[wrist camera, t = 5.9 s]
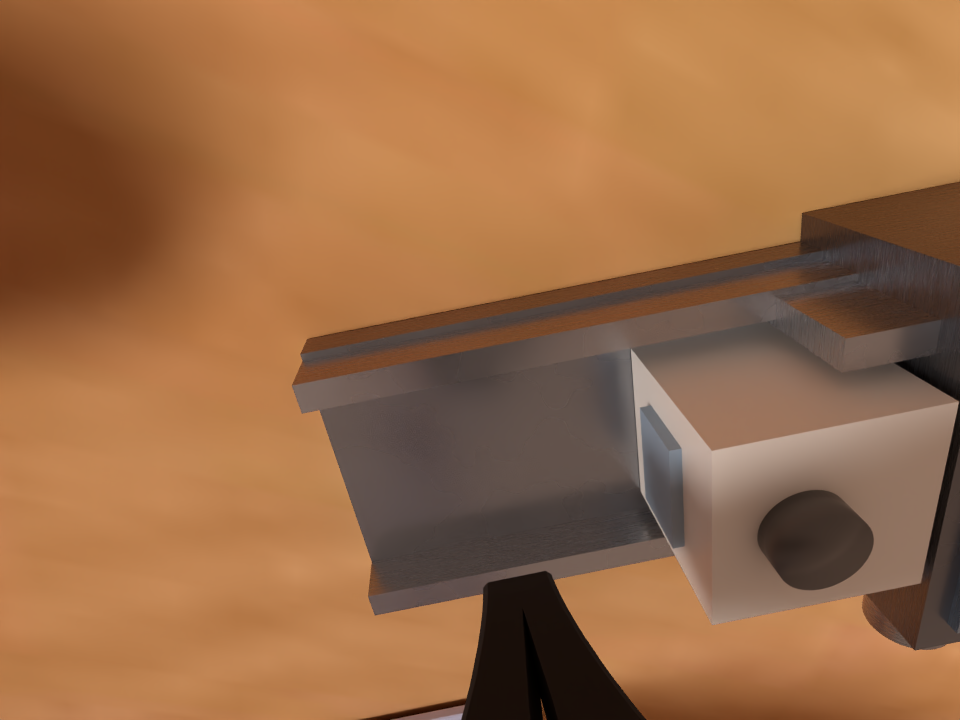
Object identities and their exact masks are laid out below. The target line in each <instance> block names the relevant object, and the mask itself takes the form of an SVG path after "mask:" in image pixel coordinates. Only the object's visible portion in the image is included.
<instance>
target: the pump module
mask: <svg viewBox="0 0 960 720" xmlns="http://www.w3.org/2000/svg"><path fill="white" fill-rule="evenodd" d="M631 359H632V373H633V387H634V402H635V416H636V430H637V445H638V459H639V474H640V488H641V493H642V495H643V497H644V499H645V500H646V502H647V504H648V506H649V508H650V510H651V512H652V514H653V515H654V517H655V519H656V521H657V523H658V525H659V527H660V528H661V530H662V532H663V534H664V536H665V538H666V540H667V542H668V543H669V545H670V547H671V549H672V551H673V553H674V555H675V557H676V558H677V560H678V562H679V564H680V566H681V568H682V570H683V571H684V573H685V575H686V577H687V579H688V581H689V583H690V585H691V586H692V588H693V590H694V592H695V594H696V596H697V598H698V599H699V601H700V603H701V605H702V607H703V609H704V611H705V613H706V614H707V616H708V618H709V620H710V622H711V624H712V625H715V624H720V623H725V622H730V621H735V620H740V619H745V618H750V617H755V616H760V615H765V614H770V613H775V612H780V611H785V610H790V609H795V608H800V607H805V606H810V605H815V604H820V603H825V602H830V601H835V600H840V599H845V598H850V597H855V596H860V595H865V594H870V593H875V592H880V591H885V590H890V589H895V588H900V587H905V586H910V585H915V584H920V583H921V579H922V575H923V570H924V565H925V560H926V556H927V551H928V546H929V542H930V537H931V532H932V527H933V523H934V518H935V513H936V508H937V504H938V499H939V494H940V490H941V485H942V480H943V475H944V471H945V466H946V461H947V456H948V452H949V447H950V442H951V438H952V433H953V428H954V423H955V419H956V414H957V409H958V404H959V401H957V400H955V399H954V398H952V397H950V396H949V395H947V394H945V393H944V392H942V391H940V390H939V389H937V388H935V387H933V386H932V385H930V384H928V383H927V382H925V381H923V380H922V379H920V378H918V377H917V376H915V375H913V374H911V373H910V372H908V371H906V370H905V369H903V368H901V367H900V366H898V365H896V364H895V363H890V364H885V365H879V366H874V367H869V368H864V369H859V370H854V371H849V372H844V373H841V372H840V371H839V370H837V369H836V368H834V367H833V366H831V365H830V364H828V363H827V362H825V361H824V360H823V359H821V358H820V357H818V356H817V355H815V354H814V353H812V352H811V351H809V350H808V349H807V348H805V347H804V346H802V345H801V344H799V343H798V342H796V341H795V340H793V339H792V338H791V337H789V336H788V335H786V334H785V333H783V332H782V331H780V330H779V329H777V328H776V327H774V326H773V325H772V324H770V323H769V322H767V321H766V322H761V323H756V324H751V325H746V326H741V327H736V328H731V329H726V330H721V331H716V332H710V333H705V334H700V335H695V336H690V337H685V338H680V339H675V340H670V341H665V342H660V343H655V344H650V345H645V346H640V347H635V348H631Z"/></svg>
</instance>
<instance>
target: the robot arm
mask: <svg viewBox="0 0 960 720" xmlns="http://www.w3.org/2000/svg"><path fill="white" fill-rule="evenodd" d="M541 700H542V704H543V707H544V711H545V715H546V718H547V720H646V719H645V718H644V716H643V715H642V714H641V713H640V712H639V710H638V709H637V708H636V707H635V705H634V704H633V703H632V702H631V700H630V699H629V698H628V697H627V695H626V694H625V693H624V691H623V690H622V689H621V687H620V686H619V685H618V684H617V682H616V681H615V680H614V678H613V677H612V676H611V674H610V673H609V671H608V670H607V669H606V667H605V666H604V665H603V663H602V662H601V660H600V659H599V657H598V656H597V654H596V653H595V651H594V650H593V648H592V647H591V645H590V644H589V642H588V641H587V640H586V638H585V637H584V635H583V633H582V632H581V630H580V629H579V627H578V625H577V624H576V622H575V620H574V619H573V617H572V615H571V614H570V612H569V610H568V608H567V607H566V605H565V603H564V601H563V599H562V597H561V595H560V593H559V591H558V589H557V587H556V584H555V582H554V580H553V577H552V574H550V573H549V572H547V571H542V572H537V573H532V574H527V575H522V576H517V577H512V578H507V579H502V580H497V581H492V582H488V583H487V584H486V585H485V586H484V587H483V611H482V621H481V629H480V635H479V642H478V648H477V653H476V658H475V663H474V668H473V674H472V679H471V683H470V687H469V691H468V695H467V699H466V703H465V705H461V706H456V707H451V708H446V709H441V710H436V711H431V712H426V713H422V714H417V715H412V716H407V717H402V718H397V719H392V720H543V715H542V706H541Z"/></svg>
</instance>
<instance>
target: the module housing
mask: <svg viewBox="0 0 960 720" xmlns="http://www.w3.org/2000/svg"><path fill="white" fill-rule="evenodd" d="M766 321H767V322H769V323H770V324H772V325H773V326H774V327H776V328H777V329H779V330H780V331H782V332H783V333H785V334H786V335H788V336H789V337H791V338H792V339H793V340H795V341H796V342H798V343H799V344H801V345H802V346H804V347H805V348H807V349H808V350H809V351H811V352H812V353H814V354H815V355H817V356H818V357H820V358H821V359H823V360H824V361H825V362H827V363H828V364H830V365H831V366H833V367H834V368H836V369H837V370H839V371H840V372H841V373H844V372H849V371H854V370H859V369H864V368H869V367H874V366H879V365H885V364H890V363H895V364H896V365H898V366H900V367H901V368H903V369H905V370H906V371H908V372H910V373H911V374H913V375H915V376H917V377H918V378H920V379H922V380H923V381H925V382H927V383H928V384H930V385H932V386H933V387H935V388H937V389H939V390H940V391H942V392H944V393H945V394H947V395H949V396H950V397H952V398H954V399H955V400H957V401H959V404H958V409H957V414H956V419H955V423H954V428H953V433H952V438H951V442H950V447H949V452H948V456H947V461H946V466H945V471H944V475H943V480H942V485H941V490H940V494H939V499H938V504H937V508H936V513H935V518H934V523H933V527H932V532H931V537H930V542H929V546H928V551H927V556H926V560H925V565H924V570H923V575H922V579H921V583H920V584H915V585H910V586H905V587H900V588H895V589H890V590H885V591H880V592H875V593H870V594H865V595H864V596H863V603H862V609H863V613H864V615H865V617H866V619H867V620H868V622H869V623H870V624H871V625H872V626H873V628H874V629H876V630H877V631H878V632H879V633H880V634H882V635H883V636H885V637H886V638H888V639H890V640H892V641H894V642H896V643H898V644H900V645H903V646H906V647H910V648H913V649H914V650H920V649H922V650H931V649H937V648H941V647H943V646H945V645H946V644H950V643H955V642H960V182H958V183H953V184H948V185H943V186H938V187H932V188H927V189H922V190H917V191H912V192H907V193H902V194H897V195H892V196H887V197H882V198H877V199H872V200H867V201H862V202H857V203H852V204H846V205H841V206H836V207H831V208H826V209H821V210H816V211H811V212H806V213H802V227H801V242H797V243H792V244H786V245H781V246H776V247H771V248H766V249H761V250H756V251H751V252H746V253H741V254H736V255H731V256H726V257H721V258H716V259H711V260H706V261H701V262H696V263H690V264H685V265H680V266H675V267H670V268H665V269H660V270H655V271H650V272H645V273H640V274H635V275H630V276H625V277H620V278H615V279H610V280H605V281H599V282H594V283H589V284H584V285H579V286H574V287H569V288H564V289H559V290H554V291H549V292H544V293H539V294H534V295H529V296H524V297H519V298H514V299H509V300H503V301H498V302H493V303H488V304H483V305H478V306H473V307H468V308H463V309H458V310H453V311H448V312H443V313H438V314H433V315H428V316H423V317H418V318H412V319H407V320H402V321H397V322H392V323H387V324H382V325H377V326H372V327H367V328H362V329H357V330H352V331H347V332H342V333H337V334H332V335H327V336H322V337H316V338H311V339H307V341H306V343H305V345H304V347H303V350H302V352H301V354H300V355H301V358H302V360H303V361H302V364H301V366H300V368H299V371H298V373H297V375H296V377H295V380H294V382H293V384H292V387H293V390H294V393H295V395H296V398H297V401H298V404H299V406H300V409H301V412H302V413H307V412H312V411H317V410H320V413H321V416H322V418H323V421H324V424H325V427H326V430H327V433H328V436H329V439H330V442H331V445H332V447H333V450H334V453H335V456H336V459H337V462H338V465H339V468H340V471H341V474H342V476H343V479H344V482H345V485H346V488H347V491H348V494H349V497H350V500H351V503H352V505H353V508H354V511H355V514H356V517H357V520H358V523H359V526H360V529H361V532H362V534H363V537H364V540H365V543H366V546H367V549H368V552H369V555H370V558H371V561H372V566H371V575H370V584H369V593H368V597H369V600H370V603H371V606H372V609H373V611H374V614H375V615H379V614H384V613H389V612H394V611H399V610H404V609H409V608H414V607H419V606H424V605H429V604H434V603H439V602H444V601H449V600H454V599H459V598H464V597H469V596H474V595H479V594H483V587H484V586H485V585H486V584H487V583H488V582H492V581H497V580H502V579H507V578H512V577H517V576H522V575H527V574H532V573H537V572H542V571H547V572H549V573H550V574H552V577H553V580H555V579H560V578H565V577H570V576H575V575H580V574H585V573H590V572H595V571H600V570H605V569H610V568H615V567H620V566H625V565H630V564H635V563H640V562H645V561H650V560H655V559H660V558H665V557H670V556H675V555H674V553H673V551H672V549H671V547H670V545H669V543H668V542H667V540H666V538H665V536H664V534H663V532H662V530H661V528H660V527H659V525H658V523H657V521H656V519H655V517H654V515H653V514H652V512H651V510H650V508H649V506H648V504H647V502H646V500H645V499H644V497H643V495H642V493H641V488H640V474H639V459H638V445H637V430H636V416H635V402H634V387H633V373H632V359H631V348H635V347H640V346H645V345H650V344H655V343H660V342H665V341H670V340H675V339H680V338H685V337H690V336H695V335H700V334H705V333H710V332H716V331H721V330H726V329H731V328H736V327H741V326H746V325H751V324H756V323H761V322H766Z"/></svg>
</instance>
